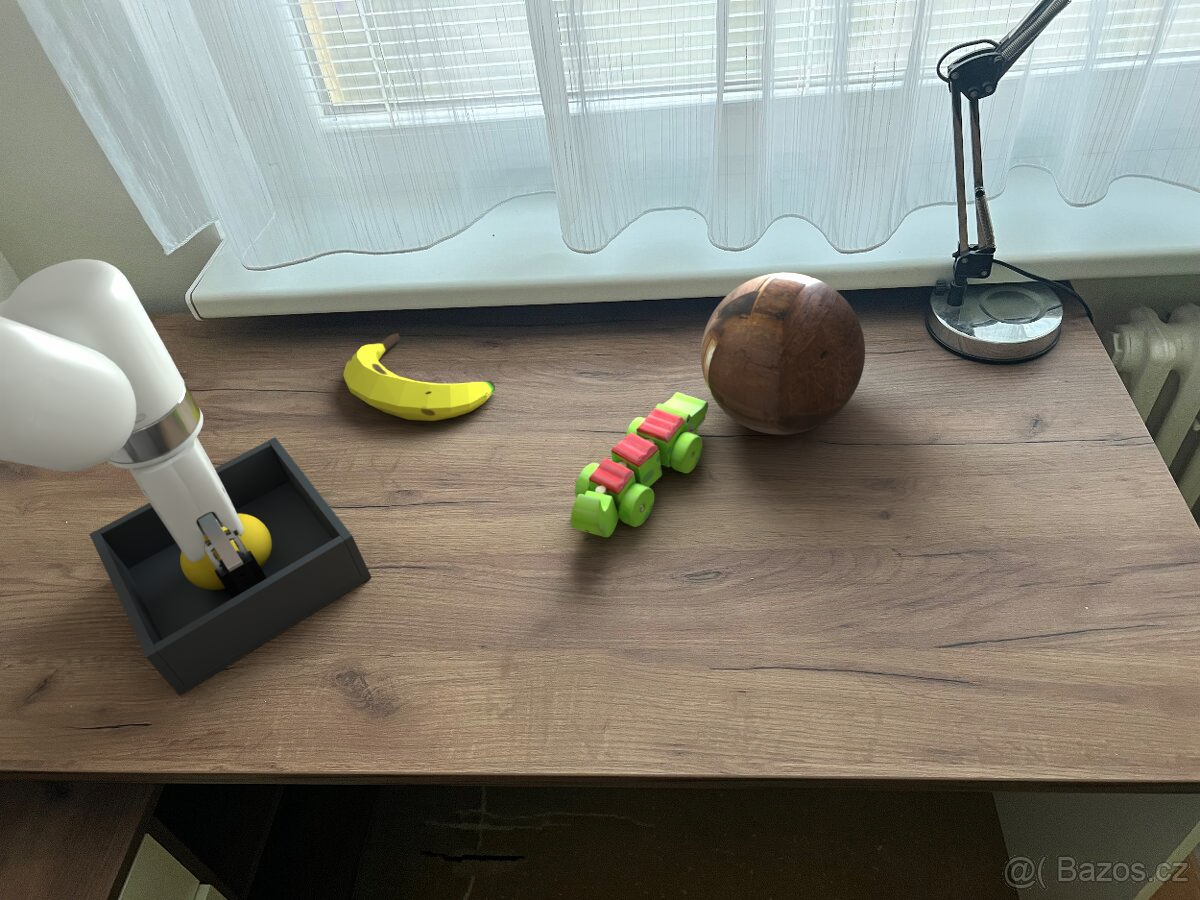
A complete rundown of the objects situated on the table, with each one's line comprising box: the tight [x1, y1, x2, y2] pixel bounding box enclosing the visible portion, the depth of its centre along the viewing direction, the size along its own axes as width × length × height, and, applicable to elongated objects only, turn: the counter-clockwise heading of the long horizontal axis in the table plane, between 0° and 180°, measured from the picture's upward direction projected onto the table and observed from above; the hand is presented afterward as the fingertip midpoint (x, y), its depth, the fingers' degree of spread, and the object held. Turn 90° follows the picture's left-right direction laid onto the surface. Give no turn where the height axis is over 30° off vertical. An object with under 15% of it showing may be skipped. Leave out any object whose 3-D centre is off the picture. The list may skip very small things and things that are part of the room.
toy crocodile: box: [570, 391, 709, 538], centre depth 80 cm, size 20×7×6 cm, turn 142°
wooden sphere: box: [700, 272, 866, 436], centre depth 82 cm, size 15×15×15 cm
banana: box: [343, 332, 496, 422], centre depth 95 cm, size 5×17×15 cm
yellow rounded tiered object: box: [180, 514, 272, 590], centre depth 76 cm, size 8×6×6 cm
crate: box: [89, 436, 372, 697], centre depth 77 cm, size 18×17×6 cm
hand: (236, 567), depth 78 cm, fingers closed on yellow rounded tiered object, 5 cm apart
